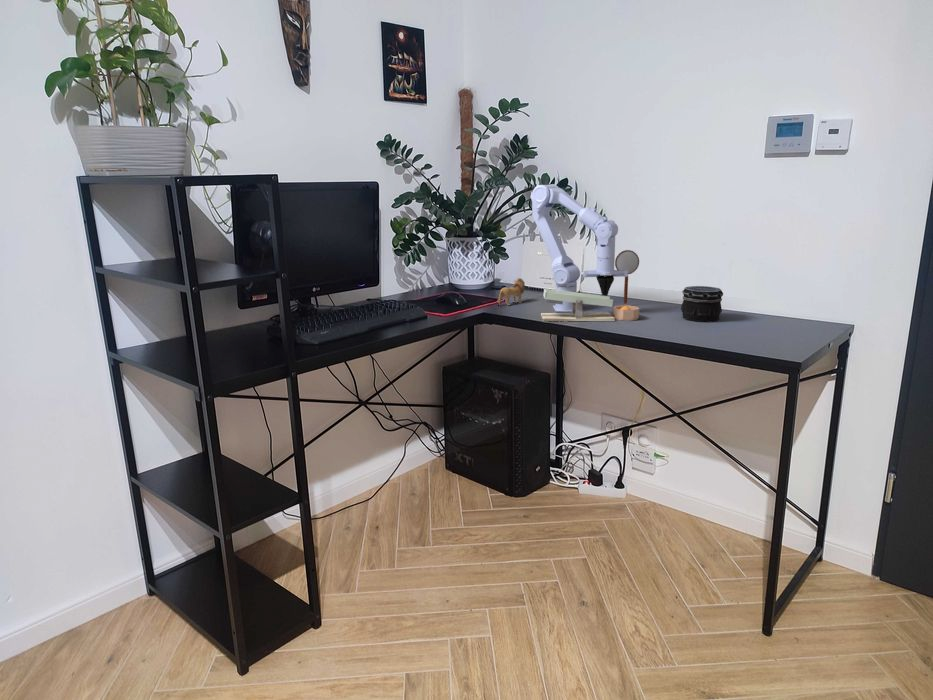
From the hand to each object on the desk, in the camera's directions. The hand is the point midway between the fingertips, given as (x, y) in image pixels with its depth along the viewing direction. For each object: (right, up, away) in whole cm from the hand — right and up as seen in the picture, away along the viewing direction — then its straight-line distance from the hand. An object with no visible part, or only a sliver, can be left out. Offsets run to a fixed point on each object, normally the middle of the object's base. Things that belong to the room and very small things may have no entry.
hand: (604, 298), depth 224 cm
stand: (-10, -7, -5) cm, 13 cm away
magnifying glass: (+10, -2, +14) cm, 18 cm away
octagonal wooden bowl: (+6, -7, -6) cm, 11 cm away
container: (+30, -7, -8) cm, 32 cm away
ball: (+6, -5, -6) cm, 10 cm away
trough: (-10, -2, -3) cm, 11 cm away
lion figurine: (-30, -1, +22) cm, 37 cm away
